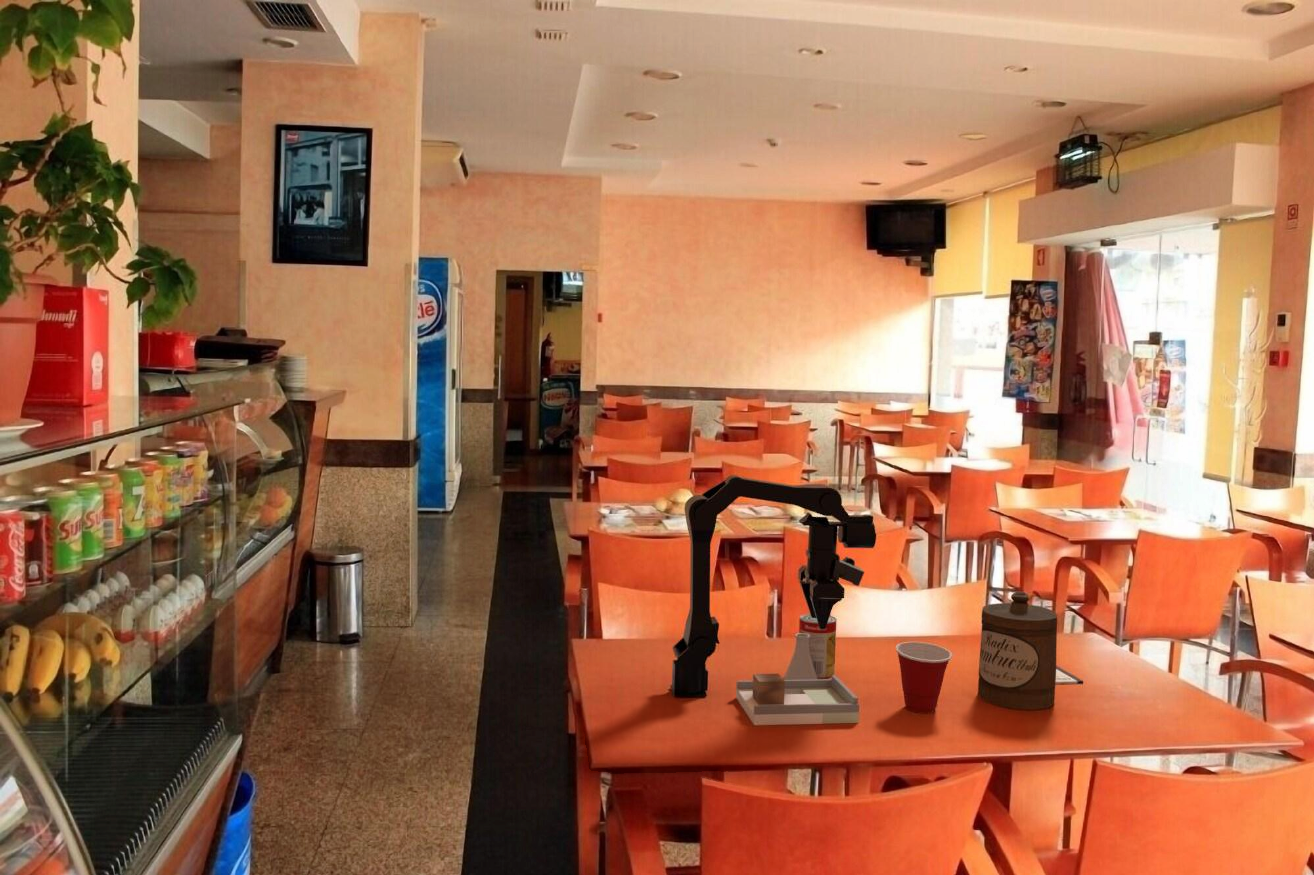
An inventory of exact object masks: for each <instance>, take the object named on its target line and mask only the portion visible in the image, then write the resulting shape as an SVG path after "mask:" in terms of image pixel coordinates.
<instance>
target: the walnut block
mask: <svg viewBox="0 0 1314 875" xmlns="http://www.w3.org/2000/svg"><path fill="white" fill-rule="evenodd" d="M752 680H753V698H754V699H755V701H756V702H757V704H758V705H778V704H784V692H785V681H784V677H782V676H781V675H780V674H779V673H753V675H752Z"/></svg>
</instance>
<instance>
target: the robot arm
mask: <svg viewBox="0 0 1314 875" xmlns="http://www.w3.org/2000/svg"><path fill="white" fill-rule="evenodd" d="M738 498H749V499H752V500H753V499H754V500H759V501H760V500H761V501H767V502H774V503H780V504H786V505H792V506H793V505H794V506H796V507H799V508H801V509H804V510H807V512H806V514H804V516H802V517H801V518H800V519H799V520H798V522H799V524H801V525H803V526H804V527H807V526H808V538H807V540H808V543H807V549H805V556H806V557H807V559H806V560H807V561H806V565H802V566H801V567H799V568H798V570H797V579H798V580H799V582H798V583H799V585H800V588H801V591H802V594H803V597H804V599H805V601H806V602H805V603H806V605H807V609H808V610H809V614H811V617H812V618H817V622H818V625H819V628H820V629H826V626H827V622H828V619H829V616H831V612H832V610H833V608H834V606H835V605H836V604H838V603H839V602H841V601H842V600H843V599H845V588H844V586H843V585H842V584H841V583H840V582H839V581H840V579H842V580H844V581H846V582H849V583H851V584H852V585H853V586H855V587H859V585H860V584H861V581H862V580H863V576H864V574H865V571H864V570H863V569H862V568H861V567H859V566H857V565H855V560H854V559H853V558H851V557H848V556H845V557H844V558H843V559H841V558H840V555H839V554H838V553H837V545H838V544H837V543H838V542H839V543H841V544H842V546H843V547H844V549H846V548H847V549H874V548H875V545H876V542H877V533H876V527H875V523H874V516H873V515H872V514H860V515H859V514H848V513H849V512H847V510H846V509H845V507H844V506H843V503H842V502H843V499H842V495H841V493H839V491H838V490H837V489H835V488H833V487H832V486H829V485H828V484H825V483H820V484H819V483H810V484H809V483H808V484H807V483H806V484H797V485H796V484H794V485H793V484H787V483H781V482H774V481H767V480H762V479H756V478H755V479H754V478H749V477H742V476H739V475H737V474H731V475H729V476H727V477H726V478H725V479H724V480H723V481H721V482H719V483H717V484H716V485H714V486H712V487H711V488H709V489H707V490H706V491H704V492H702V494H695V495H692V496H691V497H689V498H688V500H686V502H685V504H684V508H683V509H684V517H685V522H686V527H687V530H688V535H689V540H690V556H689V557H690V559H689V560H690V564H689V566H690V567H689V569H690V571H689V573H690V574H689V579H690V580H689V581H690V582H689V583H690V584H689V610H688V613H687V618H686V620H685V625H684V630H683V631H684V632H683V636H682V638H680V639H679V640H678V641H677V642H676V643H675V644H674V645H673V646H672V652H673V654H674V657H675V658H676V659H672V666H671V668H672V675H671V681H672V682H671V685H670V686H669V688H670V690H671V692H672V694H673V696H674V697H675V698H676V697H677V698H685V697H686V698H689V697H698V698H699V697H707V696H708V695H707V694H708V693H707V691H708V687H709V686H708V684H709V670H708V669H707V668H706V667H707V665H706V662H707V660H708V658H709V657H711V656H712V655H713V654H714V653H715V651H716V650H717V644H718V645H719V644H720V641H719V637H718V636H719V629H720V628H719V627H720V623H719V621H718V619H717V618H716V616H711V611H710V610H711V594H710V593H711V543H712V540H713V536H714V533H715V529H716V524H717V520H718V519H717V518H718V515H719V514H721V513H722V512H724V511H725V510H727V508H728V507H729V506H730V505H732V504H733V503H734V501H736V500H737V499H738ZM810 512H812V513H816V514H818V515H821V516H813V515H812V513H810ZM828 517H832V518H834V519H836V520H837V521H830V520H829V519H828Z"/></svg>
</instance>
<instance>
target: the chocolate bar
mask: <svg viewBox="0 0 1314 875" xmlns="http://www.w3.org/2000/svg"><path fill="white" fill-rule="evenodd" d="M1075 684H1076V685H1077V684H1078V685H1079V684H1082V685H1083V684H1084V681H1083V680H1082V679H1080V678H1079V677H1077V676H1075V675H1074V674H1072V673H1070V672H1068V671H1066V670H1065V669H1063V668H1061V667H1060V666H1058V665H1056V682H1055V685H1075Z"/></svg>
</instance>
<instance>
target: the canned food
mask: <svg viewBox="0 0 1314 875" xmlns="http://www.w3.org/2000/svg"><path fill="white" fill-rule="evenodd" d="M837 621H838V620H837V618H836V617H835V616H832V615H830V616H829V619H828V622H827V626H826V629H820V628H819V625H818V622H817V618H812V617H811V614H810V613H807V614H806V613H805V614H802V615H800V616H799V621H798V622H799V623H798V633H805V634H809V635H810V638H809V652H810V656H811V660H812V663H813V667H814V670H815V673H816V676H817V679H826V678H825V677H827V678H831V677H832V675H835V668H836V666H835V664H836V645H837V644H836V640H837Z"/></svg>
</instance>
